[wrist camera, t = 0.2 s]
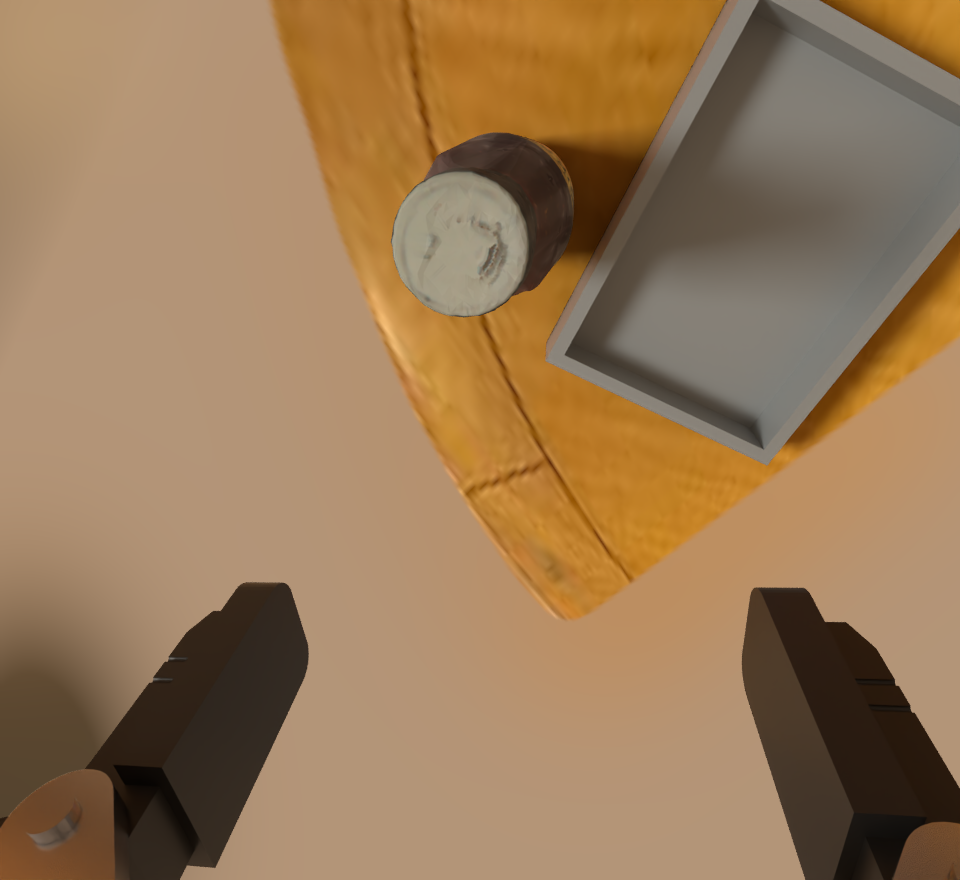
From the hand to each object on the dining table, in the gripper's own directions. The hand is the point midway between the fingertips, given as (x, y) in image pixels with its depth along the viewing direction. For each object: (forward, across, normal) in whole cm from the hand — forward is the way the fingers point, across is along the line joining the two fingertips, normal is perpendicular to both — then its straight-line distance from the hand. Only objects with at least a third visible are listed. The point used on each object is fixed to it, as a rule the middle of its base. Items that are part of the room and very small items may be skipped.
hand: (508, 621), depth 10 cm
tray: (+29, -11, 0) cm, 31 cm away
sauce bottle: (+29, +2, -4) cm, 30 cm away
